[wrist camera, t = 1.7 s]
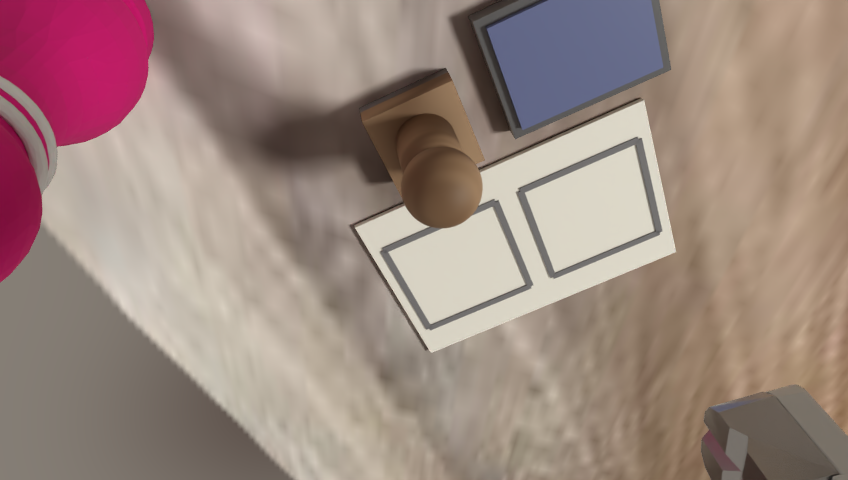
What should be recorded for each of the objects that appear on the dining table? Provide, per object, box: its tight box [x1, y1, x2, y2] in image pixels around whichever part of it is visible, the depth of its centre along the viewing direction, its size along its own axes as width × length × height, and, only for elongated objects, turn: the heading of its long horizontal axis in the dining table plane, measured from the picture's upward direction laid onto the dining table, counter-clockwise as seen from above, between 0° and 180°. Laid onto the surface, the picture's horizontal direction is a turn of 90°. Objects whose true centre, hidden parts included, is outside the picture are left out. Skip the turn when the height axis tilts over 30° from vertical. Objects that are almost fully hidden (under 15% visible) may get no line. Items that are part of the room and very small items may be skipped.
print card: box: [355, 98, 676, 353], centre depth 40 cm, size 18×12×1 cm, turn 113°
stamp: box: [360, 68, 485, 228], centre depth 31 cm, size 5×5×8 cm
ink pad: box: [468, 0, 671, 139], centre depth 33 cm, size 9×7×1 cm
